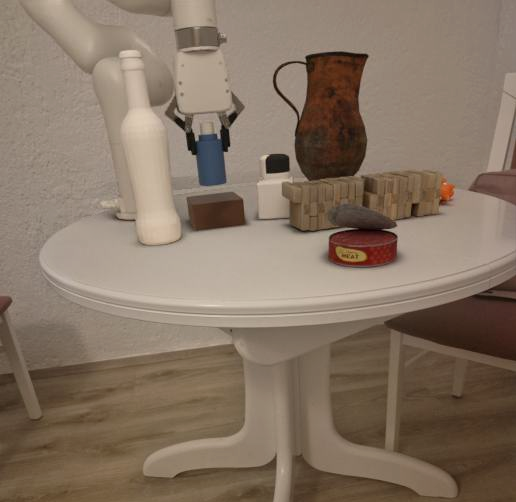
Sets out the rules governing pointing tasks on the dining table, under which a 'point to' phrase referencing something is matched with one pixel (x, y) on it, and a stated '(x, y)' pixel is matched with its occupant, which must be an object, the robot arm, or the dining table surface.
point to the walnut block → (215, 210)
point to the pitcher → (330, 116)
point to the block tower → (364, 196)
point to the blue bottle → (210, 157)
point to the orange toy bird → (446, 190)
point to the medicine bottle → (273, 186)
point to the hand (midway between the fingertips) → (209, 152)
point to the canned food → (361, 237)
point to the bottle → (147, 158)
